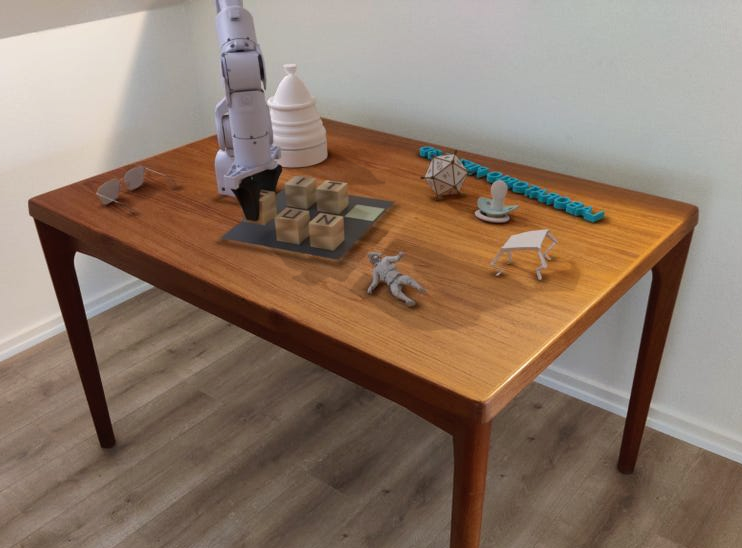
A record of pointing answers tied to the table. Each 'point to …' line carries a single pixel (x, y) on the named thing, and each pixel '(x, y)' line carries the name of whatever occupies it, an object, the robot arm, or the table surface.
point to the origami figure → (527, 246)
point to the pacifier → (495, 204)
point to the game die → (446, 174)
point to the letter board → (270, 228)
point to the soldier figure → (392, 276)
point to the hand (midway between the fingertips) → (259, 214)
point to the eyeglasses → (111, 188)
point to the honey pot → (296, 123)
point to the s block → (265, 208)
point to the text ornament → (524, 188)
